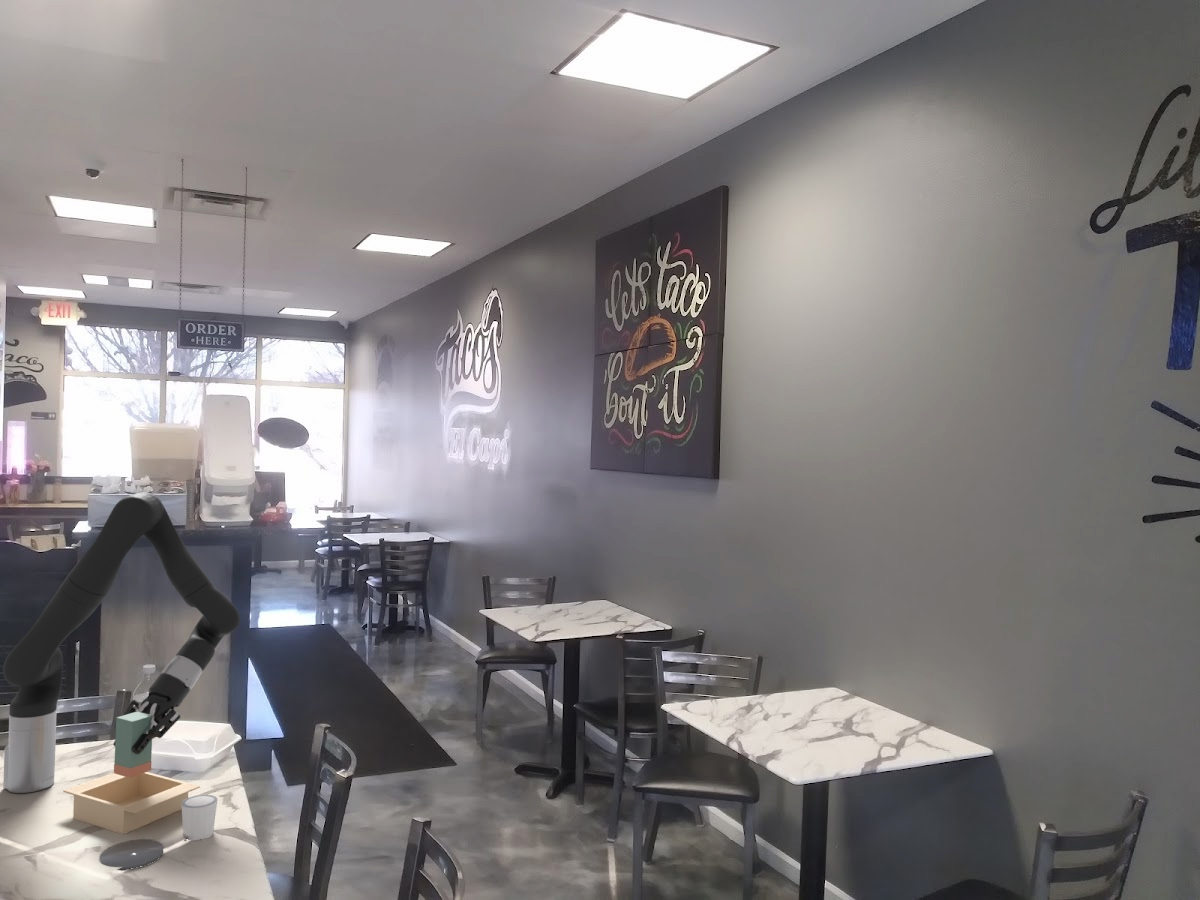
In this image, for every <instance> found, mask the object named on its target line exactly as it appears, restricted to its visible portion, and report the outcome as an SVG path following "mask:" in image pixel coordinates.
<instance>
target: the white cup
mask: <svg viewBox="0 0 1200 900" xmlns="http://www.w3.org/2000/svg"><path fill="white" fill-rule="evenodd" d="M217 807H218V797H217V796H216V795H214V794H213V795H212V794H198V795H193V796H190V797H189V796H188V798H187V799H185V800H184V801H182V803H181V808H182V810H181V819H182V821H181V822H182V833H183V835H184V836H186V837H185V838H186V839H185V840H187V839H188V840H187V841H200V839H201V840H205V839H207V838H209V837H211V836H212V835H213V833H214V829H215V823H216V822H215V821H216V815H217V814H216V813H217Z"/></svg>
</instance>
